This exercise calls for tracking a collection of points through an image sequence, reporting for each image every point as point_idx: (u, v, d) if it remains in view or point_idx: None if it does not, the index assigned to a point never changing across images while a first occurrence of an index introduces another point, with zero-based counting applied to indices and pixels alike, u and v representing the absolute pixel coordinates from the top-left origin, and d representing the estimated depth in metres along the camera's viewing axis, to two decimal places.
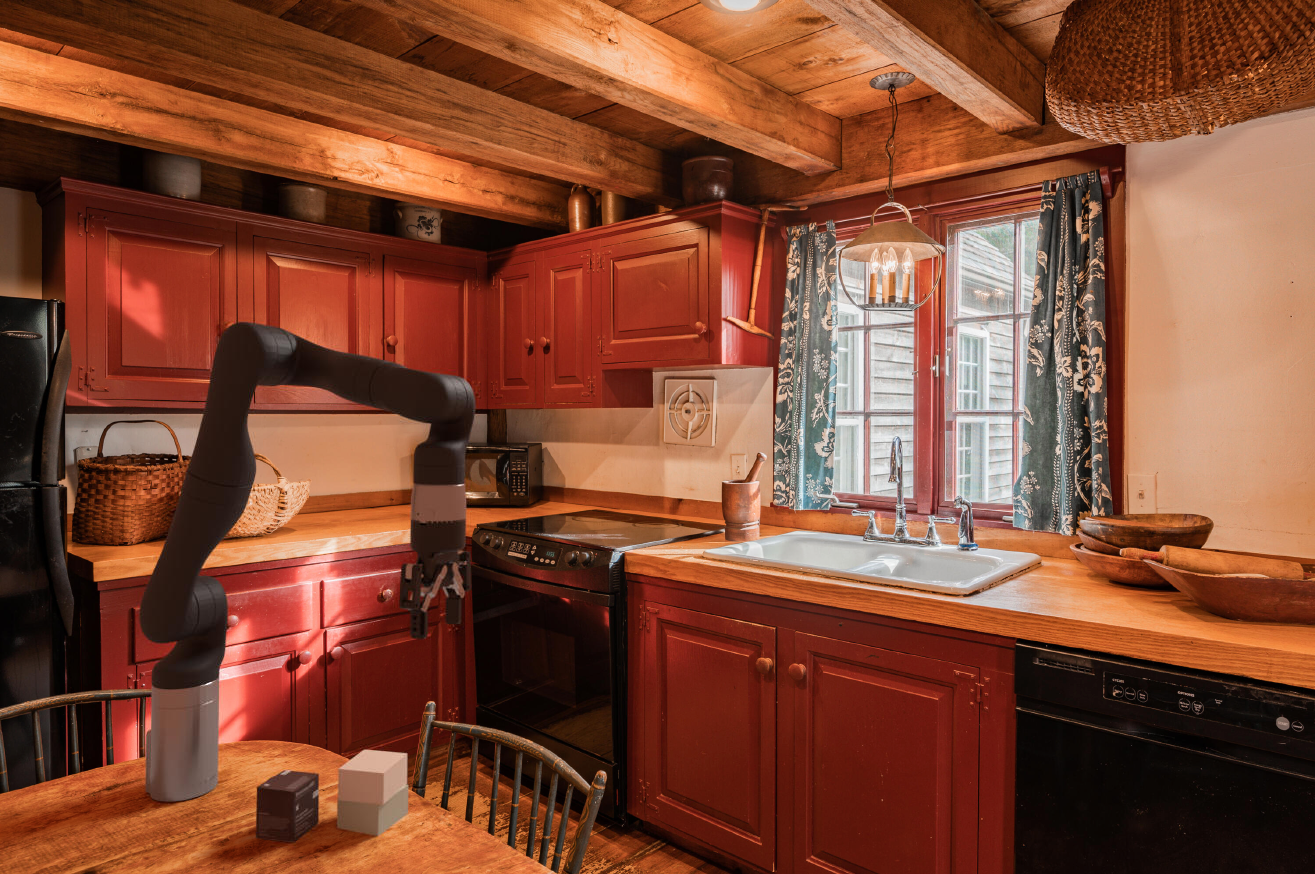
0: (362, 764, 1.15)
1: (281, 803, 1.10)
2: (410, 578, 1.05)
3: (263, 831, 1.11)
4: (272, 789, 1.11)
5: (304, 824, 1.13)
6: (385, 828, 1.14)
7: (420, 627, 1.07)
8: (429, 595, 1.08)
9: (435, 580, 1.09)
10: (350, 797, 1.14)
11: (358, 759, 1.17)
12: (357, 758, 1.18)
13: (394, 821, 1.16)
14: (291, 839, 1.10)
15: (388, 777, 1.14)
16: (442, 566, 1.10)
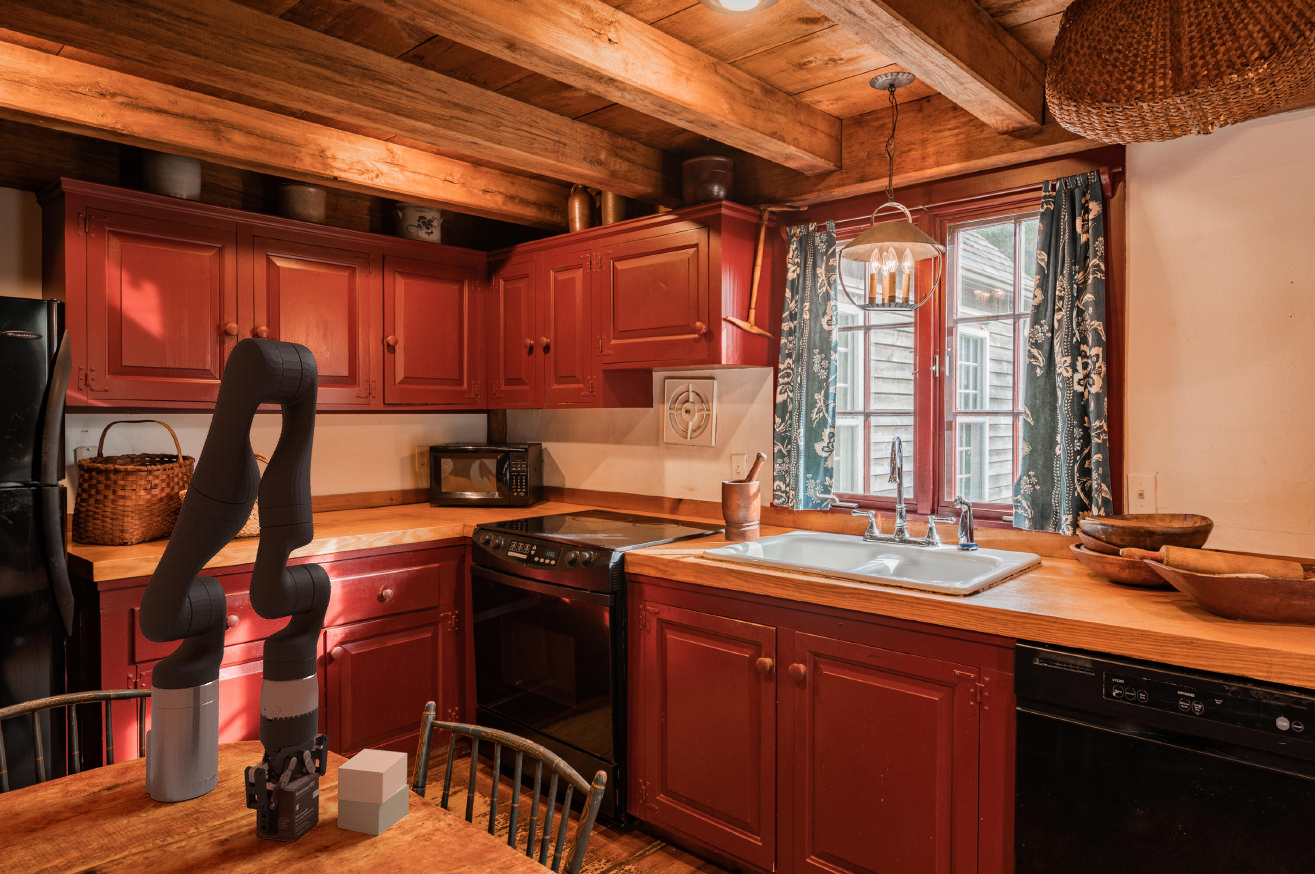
0: (362, 764, 1.16)
1: (281, 802, 1.10)
2: (254, 782, 1.07)
3: None
4: None
5: (304, 824, 1.13)
6: (386, 828, 1.14)
7: (269, 824, 1.09)
8: (278, 792, 1.10)
9: (283, 775, 1.10)
10: (349, 796, 1.14)
11: (358, 759, 1.17)
12: (357, 757, 1.18)
13: (394, 820, 1.16)
14: (291, 839, 1.10)
15: (387, 777, 1.14)
16: (290, 759, 1.11)
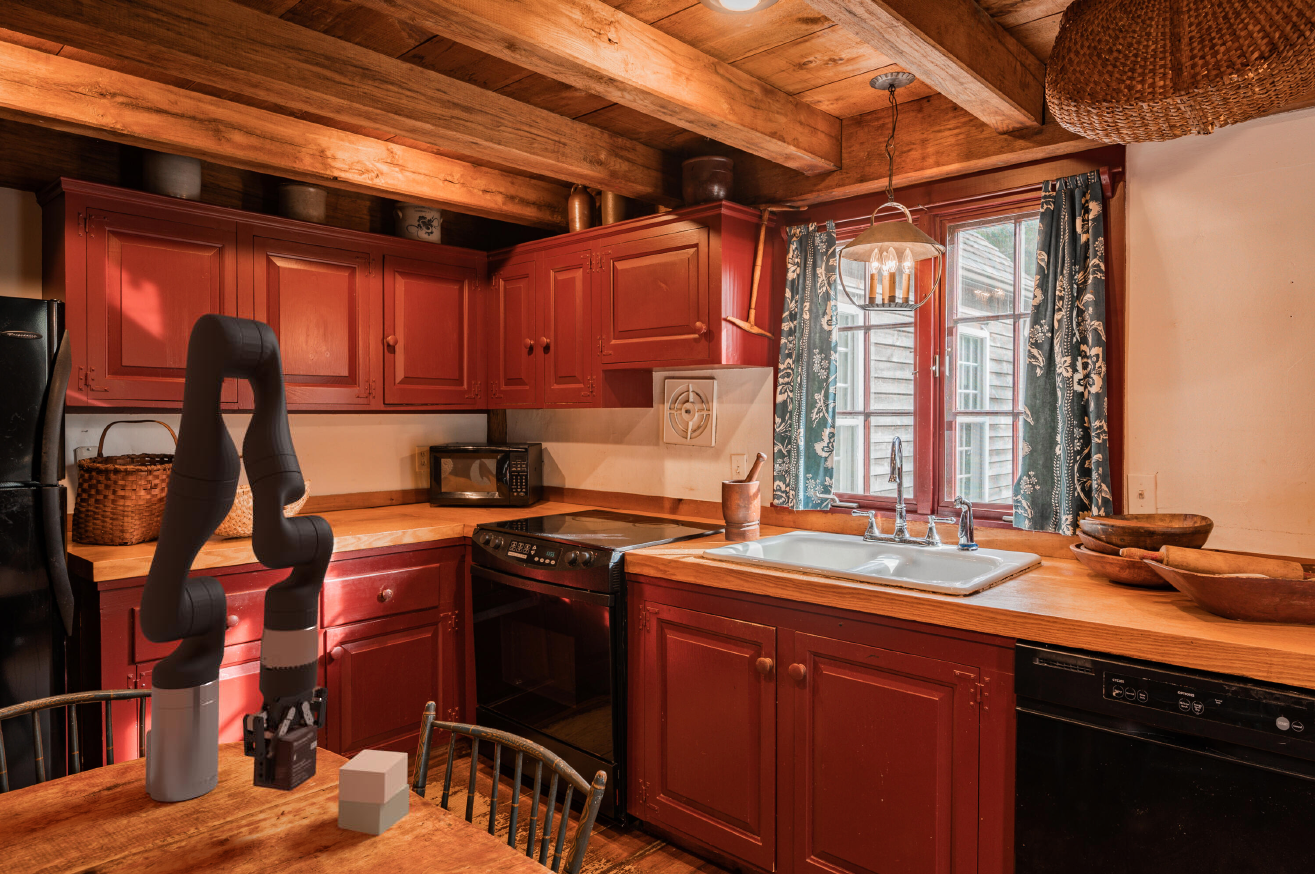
0: (363, 764, 1.16)
1: (279, 752, 1.10)
2: (252, 730, 1.07)
3: None
4: None
5: (301, 775, 1.13)
6: (386, 827, 1.14)
7: (266, 773, 1.10)
8: (276, 741, 1.10)
9: (281, 725, 1.10)
10: (351, 797, 1.14)
11: (358, 759, 1.17)
12: (357, 758, 1.18)
13: (395, 820, 1.16)
14: (288, 788, 1.10)
15: (389, 777, 1.14)
16: (289, 709, 1.11)
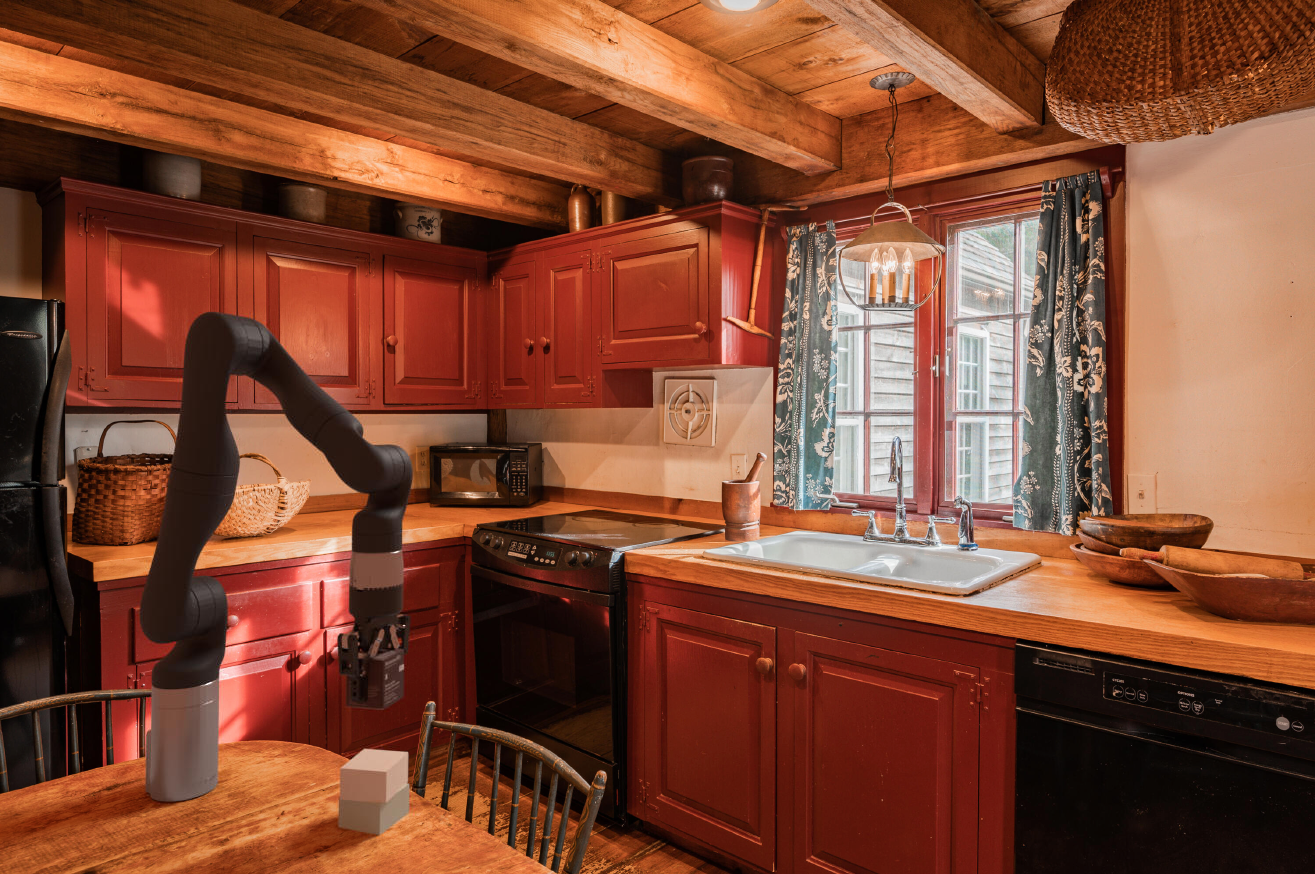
0: (364, 763, 1.16)
1: (371, 671, 1.14)
2: (347, 648, 1.10)
3: None
4: None
5: (392, 695, 1.16)
6: (386, 827, 1.14)
7: (360, 692, 1.13)
8: (368, 660, 1.13)
9: (372, 645, 1.14)
10: (352, 796, 1.14)
11: (359, 759, 1.17)
12: (358, 757, 1.18)
13: (395, 820, 1.16)
14: (381, 707, 1.13)
15: (390, 776, 1.14)
16: (378, 630, 1.15)
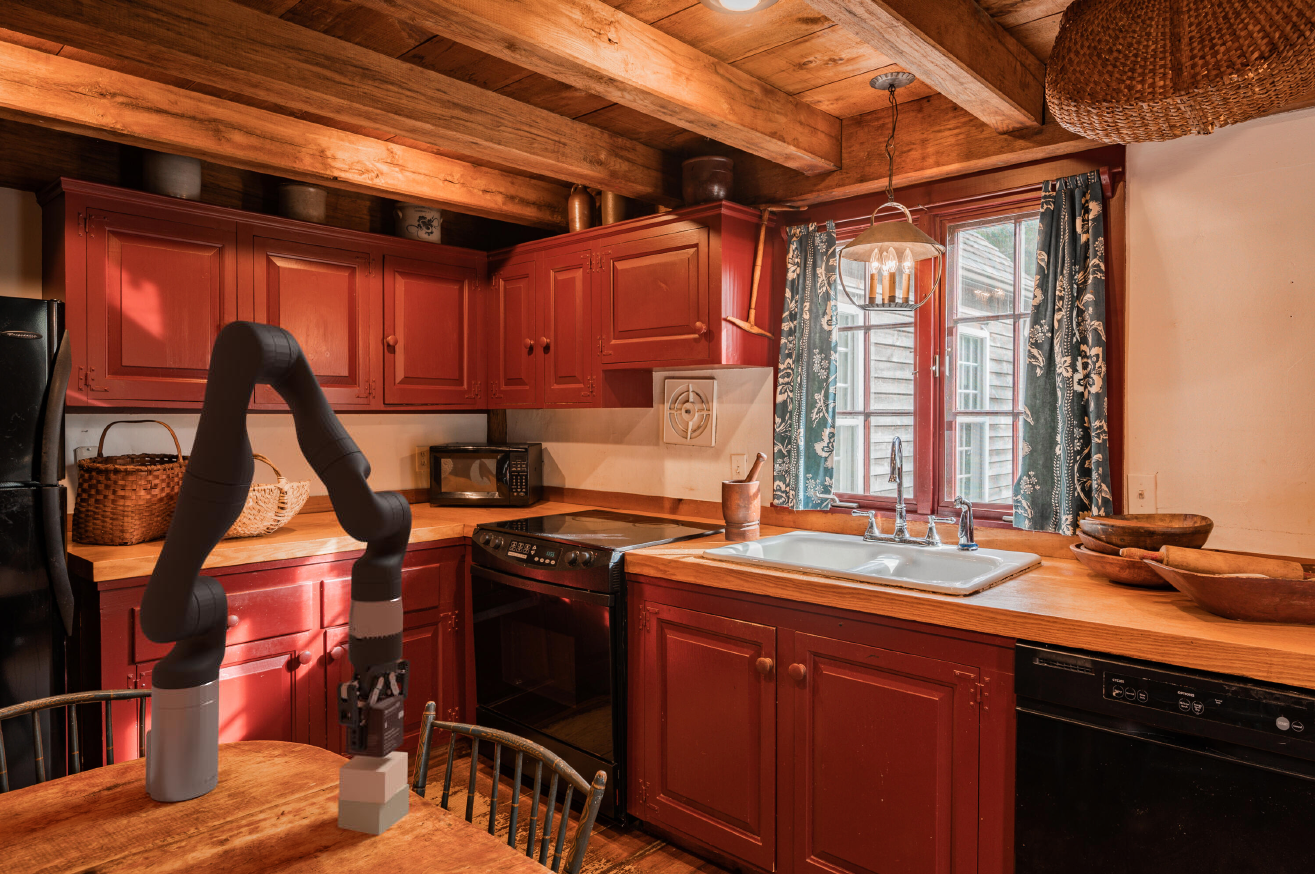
0: (363, 764, 1.16)
1: (370, 720, 1.14)
2: (346, 698, 1.10)
3: None
4: None
5: (391, 742, 1.16)
6: (386, 827, 1.14)
7: (359, 741, 1.13)
8: (367, 709, 1.13)
9: (372, 694, 1.14)
10: (351, 796, 1.14)
11: (358, 759, 1.17)
12: (357, 758, 1.18)
13: (394, 820, 1.16)
14: (380, 755, 1.14)
15: (389, 776, 1.14)
16: (378, 678, 1.15)
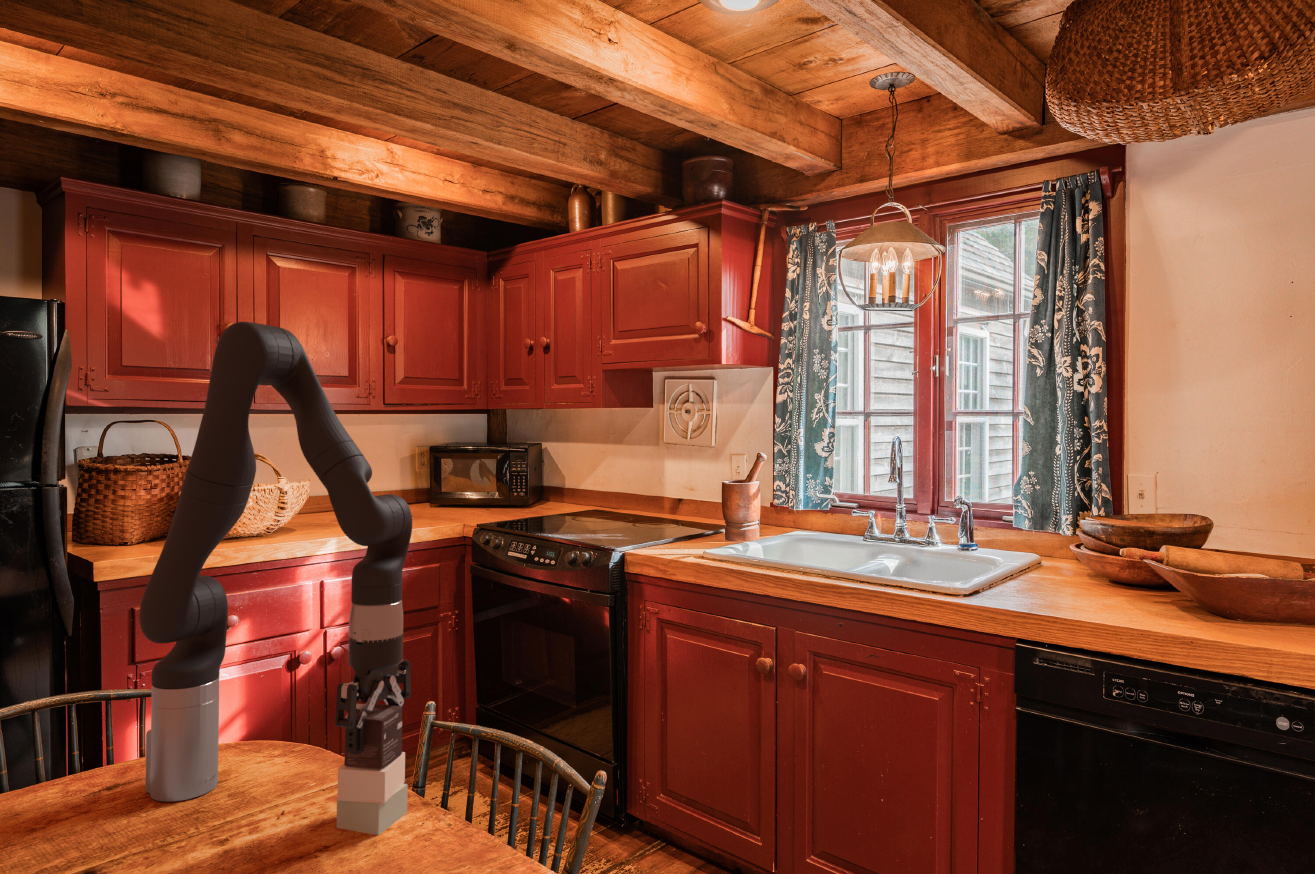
0: None
1: (369, 731, 1.14)
2: (345, 698, 1.10)
3: (352, 759, 1.14)
4: None
5: (390, 754, 1.16)
6: (385, 827, 1.14)
7: (356, 743, 1.12)
8: (365, 711, 1.13)
9: (371, 696, 1.14)
10: (350, 797, 1.14)
11: None
12: None
13: (393, 820, 1.16)
14: (379, 766, 1.14)
15: (388, 776, 1.15)
16: (379, 682, 1.15)
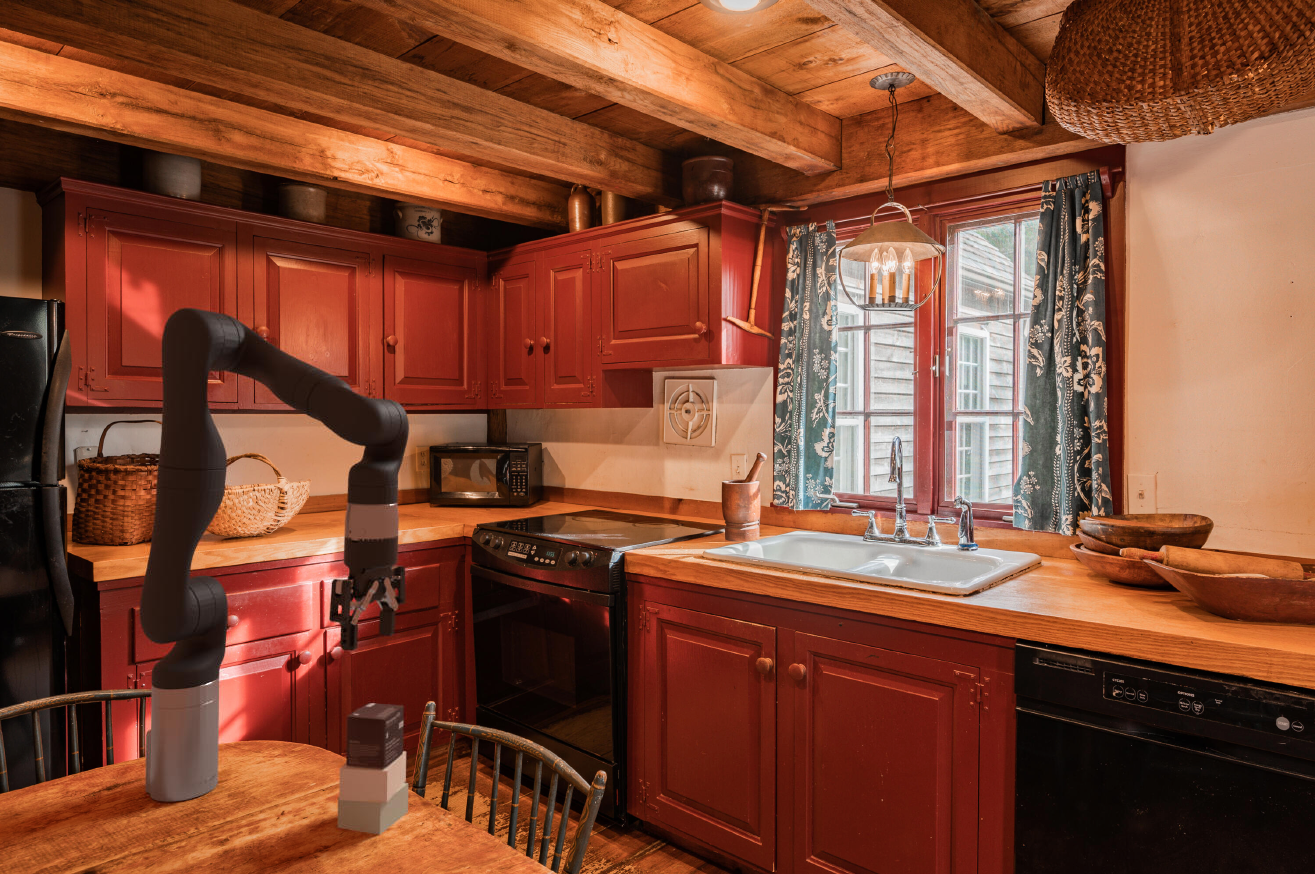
0: None
1: (372, 730, 1.14)
2: (340, 593, 1.11)
3: (354, 758, 1.14)
4: (363, 718, 1.14)
5: (392, 753, 1.16)
6: (386, 826, 1.15)
7: (350, 639, 1.13)
8: (359, 609, 1.14)
9: (365, 595, 1.15)
10: (352, 796, 1.14)
11: None
12: None
13: (394, 819, 1.17)
14: (382, 766, 1.14)
15: (390, 775, 1.15)
16: (373, 581, 1.16)
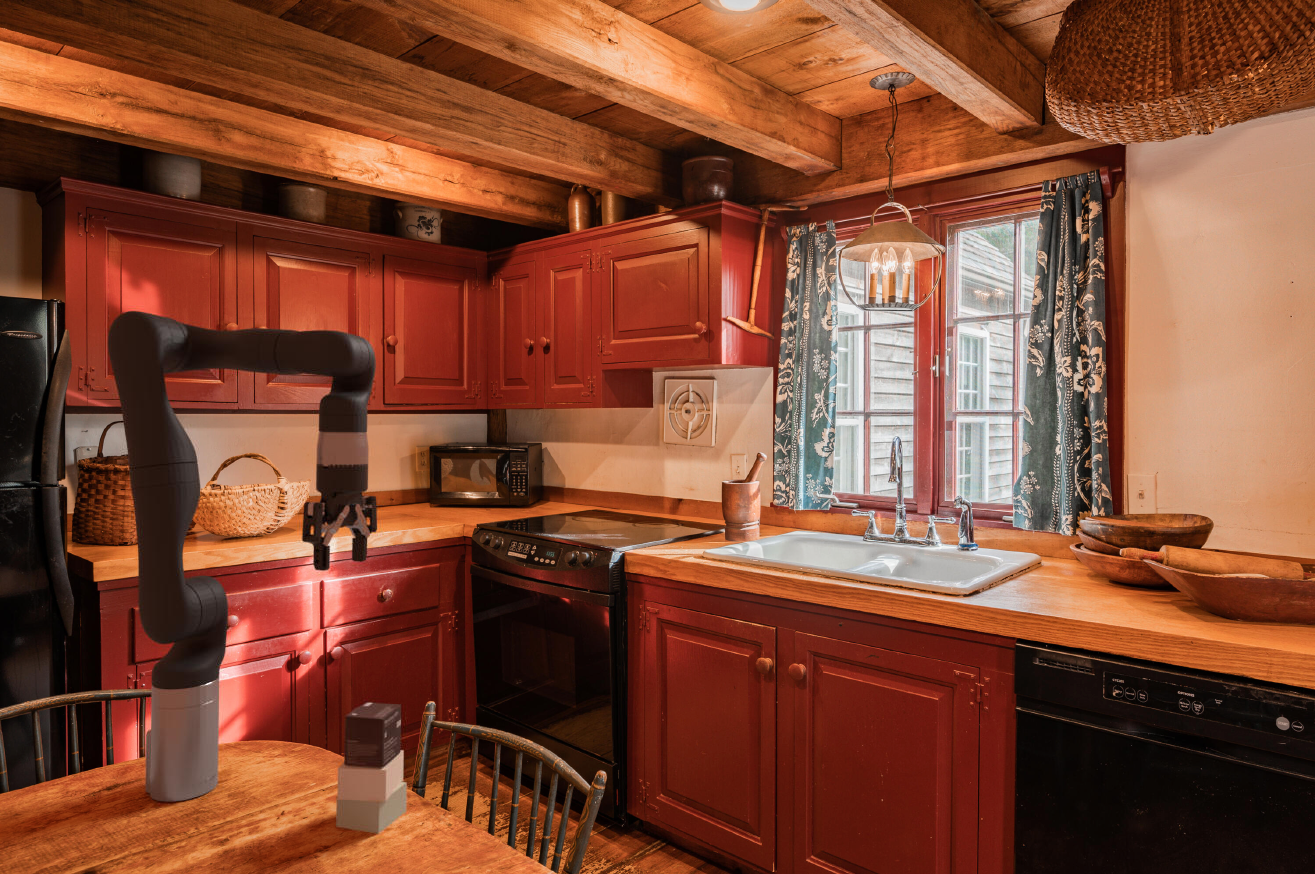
0: None
1: (370, 730, 1.14)
2: (312, 514, 1.17)
3: (352, 758, 1.15)
4: (361, 718, 1.14)
5: (390, 752, 1.17)
6: (385, 825, 1.15)
7: (322, 559, 1.19)
8: (331, 531, 1.20)
9: (337, 518, 1.21)
10: (350, 796, 1.14)
11: None
12: None
13: (393, 818, 1.17)
14: (380, 765, 1.14)
15: (389, 774, 1.15)
16: (344, 506, 1.22)
